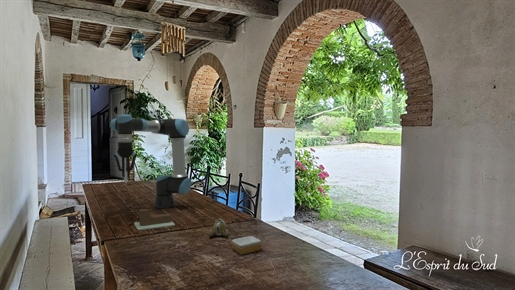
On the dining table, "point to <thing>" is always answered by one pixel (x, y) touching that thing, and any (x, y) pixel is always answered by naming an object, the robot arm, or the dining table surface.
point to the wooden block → (152, 218)
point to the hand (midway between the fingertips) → (125, 182)
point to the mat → (153, 225)
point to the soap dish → (246, 244)
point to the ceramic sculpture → (219, 228)
